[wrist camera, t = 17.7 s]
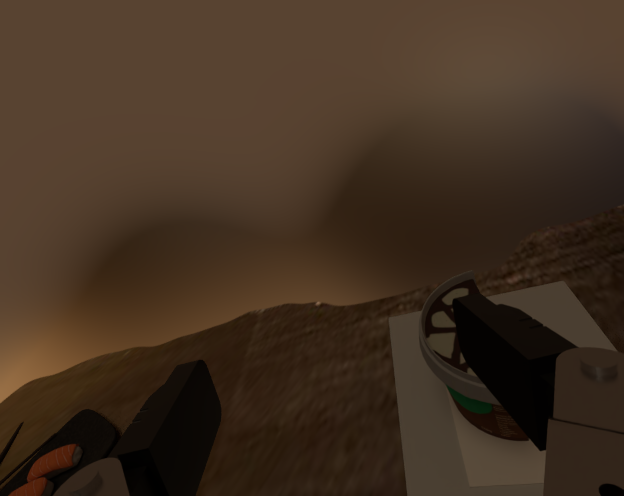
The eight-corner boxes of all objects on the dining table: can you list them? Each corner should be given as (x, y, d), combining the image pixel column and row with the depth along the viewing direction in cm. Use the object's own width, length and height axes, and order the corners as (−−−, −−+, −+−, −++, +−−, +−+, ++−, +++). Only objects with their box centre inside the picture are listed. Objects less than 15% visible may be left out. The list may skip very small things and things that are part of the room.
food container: (428, 346, 38) (404, 282, 33) (486, 335, 36) (471, 266, 31) (454, 466, 28) (426, 400, 23) (537, 460, 26) (526, 387, 21)
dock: (418, 566, 25) (414, 561, 25) (390, 322, 45) (388, 316, 44) (778, 573, 19) (784, 567, 18) (563, 287, 38) (563, 279, 38)
